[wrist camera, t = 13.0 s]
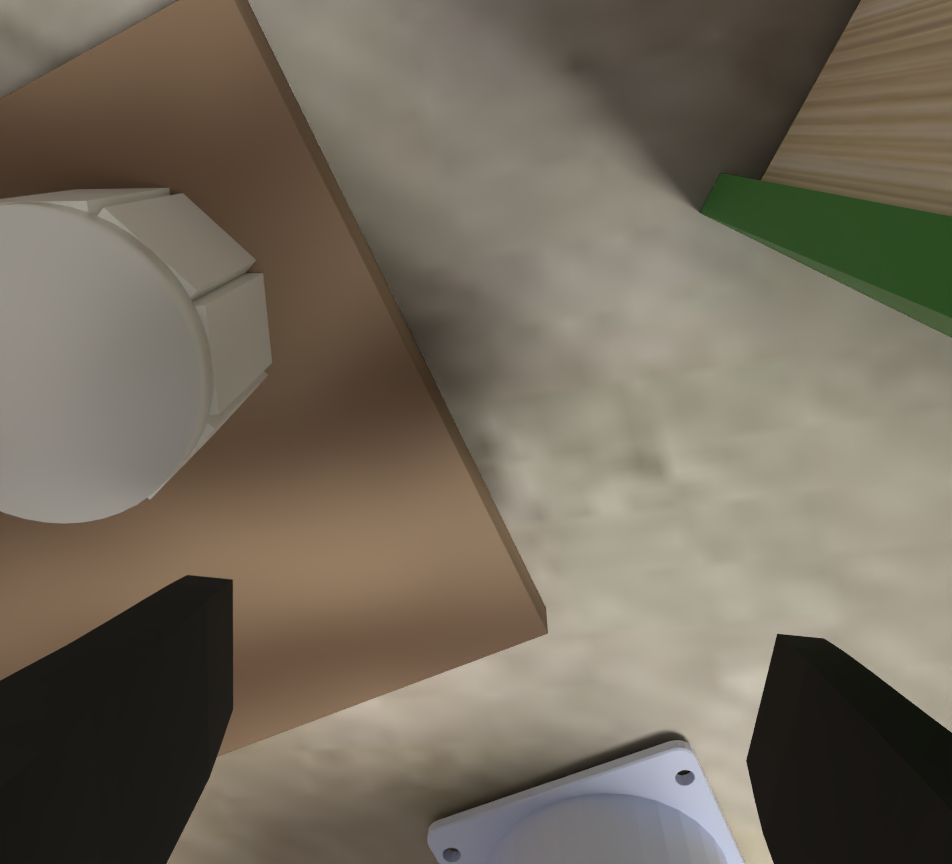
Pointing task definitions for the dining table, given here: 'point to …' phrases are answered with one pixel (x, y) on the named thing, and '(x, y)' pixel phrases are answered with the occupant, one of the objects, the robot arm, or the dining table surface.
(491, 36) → the dining table surface
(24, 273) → the cap
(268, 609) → the brown tray
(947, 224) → the hardback book
